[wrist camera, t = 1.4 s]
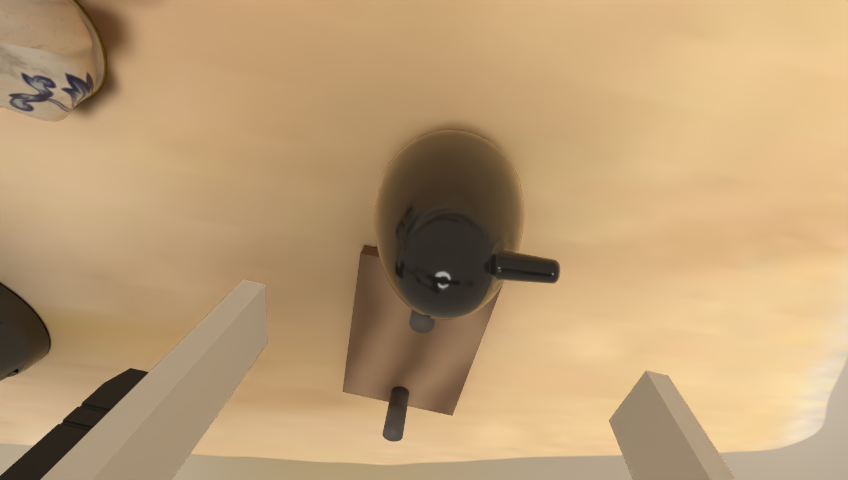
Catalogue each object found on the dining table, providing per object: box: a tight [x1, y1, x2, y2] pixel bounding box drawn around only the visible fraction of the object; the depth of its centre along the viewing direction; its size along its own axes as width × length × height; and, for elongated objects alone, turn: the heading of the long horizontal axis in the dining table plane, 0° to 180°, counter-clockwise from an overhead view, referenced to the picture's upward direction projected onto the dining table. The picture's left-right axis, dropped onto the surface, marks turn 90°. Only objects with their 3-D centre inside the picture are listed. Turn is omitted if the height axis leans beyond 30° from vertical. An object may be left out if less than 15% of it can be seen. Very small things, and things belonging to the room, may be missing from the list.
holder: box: [343, 246, 502, 441], centre depth 33 cm, size 13×19×6 cm
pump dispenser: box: [374, 130, 560, 320], centre depth 22 cm, size 10×10×15 cm
